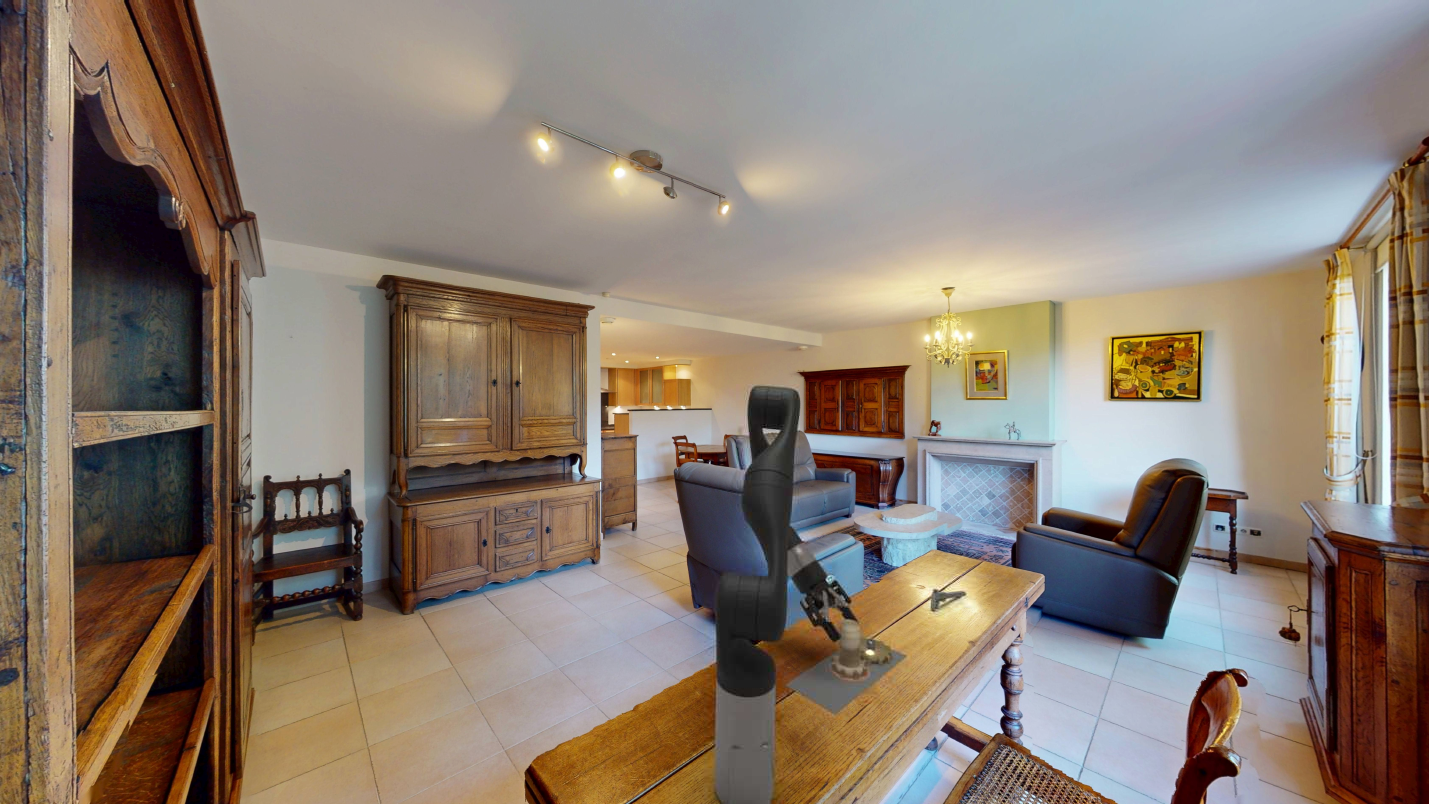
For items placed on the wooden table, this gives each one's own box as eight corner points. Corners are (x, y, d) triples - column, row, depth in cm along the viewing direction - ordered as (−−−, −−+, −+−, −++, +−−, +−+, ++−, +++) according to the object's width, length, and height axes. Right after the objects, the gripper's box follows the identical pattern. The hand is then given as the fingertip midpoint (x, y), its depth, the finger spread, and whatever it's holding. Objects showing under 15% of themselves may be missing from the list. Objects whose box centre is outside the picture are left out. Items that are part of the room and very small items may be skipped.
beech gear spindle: (874, 678, 100) (875, 632, 100) (839, 681, 99) (840, 634, 99) (857, 658, 108) (858, 614, 108) (825, 660, 107) (826, 616, 107)
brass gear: (900, 664, 106) (900, 651, 106) (860, 667, 104) (860, 653, 104) (879, 642, 115) (880, 630, 115) (843, 644, 114) (843, 632, 114)
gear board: (835, 722, 89) (835, 714, 89) (784, 692, 98) (785, 684, 98) (907, 662, 109) (907, 655, 109) (860, 641, 118) (860, 635, 118)
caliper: (934, 613, 135) (934, 591, 135) (930, 611, 136) (930, 590, 136) (966, 595, 148) (967, 575, 148) (963, 593, 149) (963, 574, 149)
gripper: (796, 567, 104) (843, 637, 97) (828, 552, 115) (872, 614, 107) (776, 584, 108) (819, 653, 100) (808, 568, 119) (850, 629, 111)
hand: (847, 633), depth 104 cm, fingers open, 8 cm apart
